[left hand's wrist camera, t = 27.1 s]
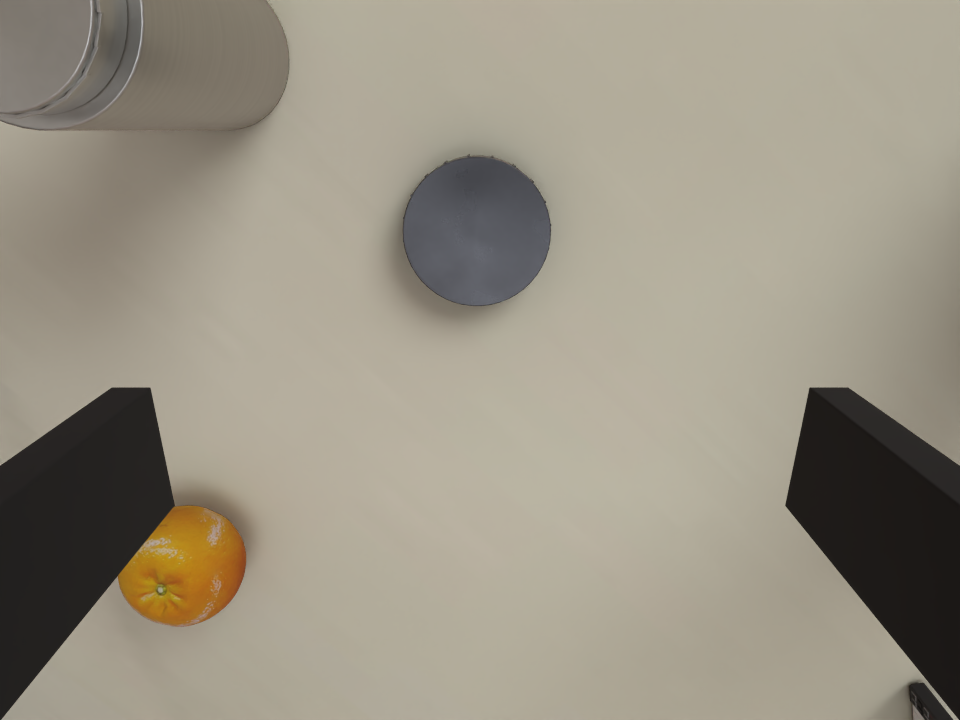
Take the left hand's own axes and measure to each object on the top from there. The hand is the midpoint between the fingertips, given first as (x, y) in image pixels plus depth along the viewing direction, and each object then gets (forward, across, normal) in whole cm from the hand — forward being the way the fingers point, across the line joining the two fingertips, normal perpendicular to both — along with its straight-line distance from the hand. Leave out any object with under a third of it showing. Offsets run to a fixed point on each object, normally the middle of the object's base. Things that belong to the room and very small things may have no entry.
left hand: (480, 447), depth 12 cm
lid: (+27, 0, 0) cm, 27 cm away
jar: (+29, +16, -10) cm, 35 cm away
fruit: (+29, +22, +24) cm, 44 cm away
